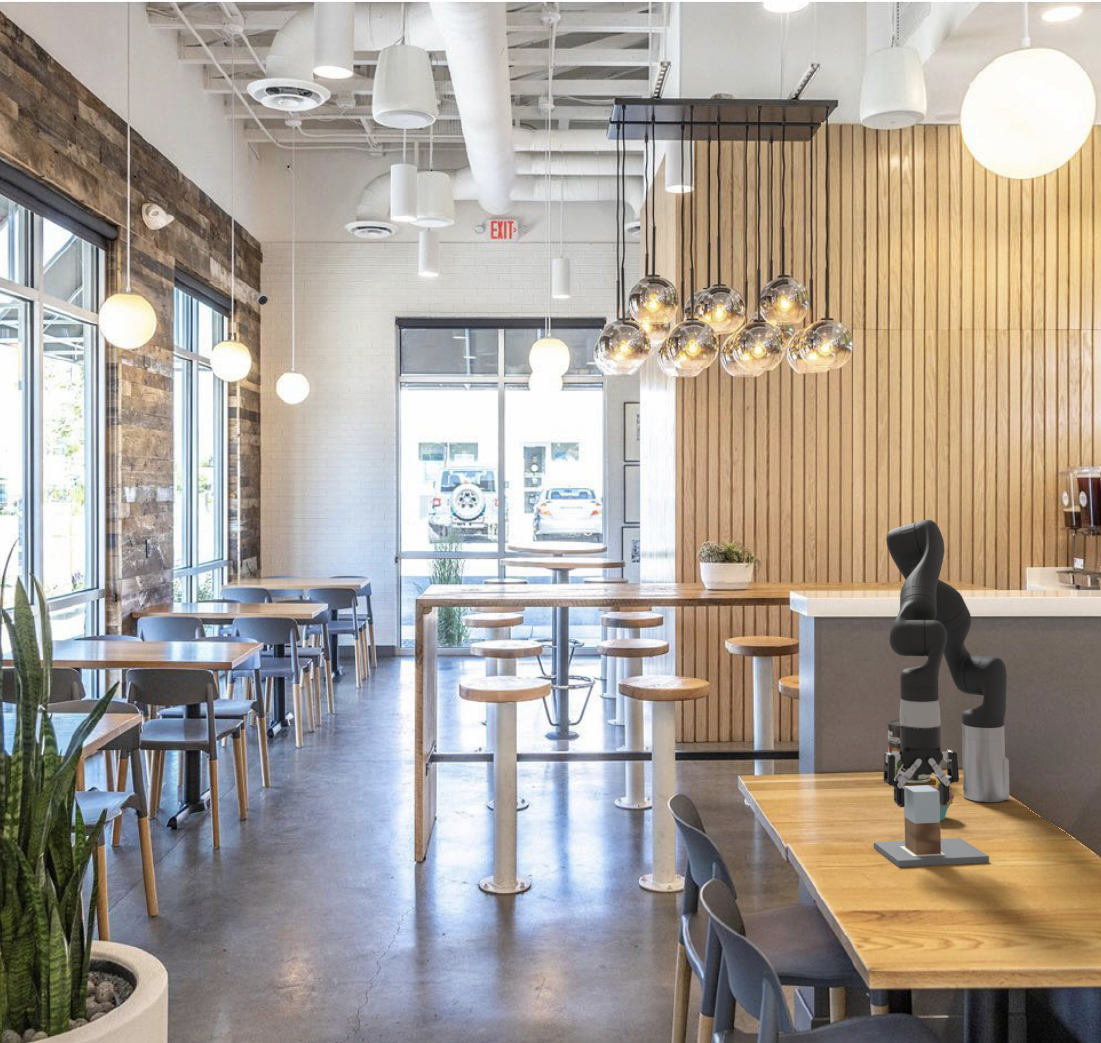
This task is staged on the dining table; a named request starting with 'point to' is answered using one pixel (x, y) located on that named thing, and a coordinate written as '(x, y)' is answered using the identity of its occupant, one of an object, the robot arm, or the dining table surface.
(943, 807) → the cupcake
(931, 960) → the dining table surface
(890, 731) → the coffee can
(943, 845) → the grey flat plate
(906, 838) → the walnut block
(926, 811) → the greyblue block
